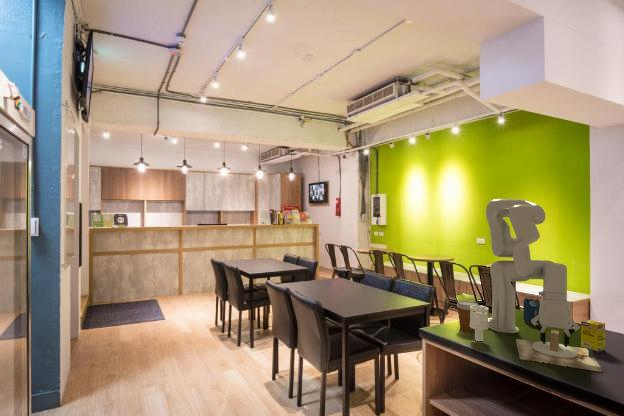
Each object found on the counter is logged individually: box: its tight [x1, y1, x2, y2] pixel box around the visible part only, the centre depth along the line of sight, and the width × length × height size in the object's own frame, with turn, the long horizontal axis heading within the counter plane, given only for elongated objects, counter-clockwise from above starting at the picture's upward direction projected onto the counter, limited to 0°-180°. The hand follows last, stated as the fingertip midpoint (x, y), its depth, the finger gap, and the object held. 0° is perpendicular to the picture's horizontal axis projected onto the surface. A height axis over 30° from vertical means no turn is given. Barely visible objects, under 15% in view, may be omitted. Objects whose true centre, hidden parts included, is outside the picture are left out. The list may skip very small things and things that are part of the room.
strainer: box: [470, 304, 489, 342], centre depth 157 cm, size 7×7×15 cm
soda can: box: [522, 296, 540, 325], centre depth 186 cm, size 7×7×12 cm
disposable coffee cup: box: [456, 300, 479, 332], centre depth 173 cm, size 10×10×12 cm
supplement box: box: [580, 319, 606, 354], centre depth 149 cm, size 6×6×11 cm
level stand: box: [515, 338, 602, 372], centre depth 141 cm, size 24×20×4 cm
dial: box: [533, 329, 582, 358], centre depth 141 cm, size 14×16×7 cm
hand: (554, 343), depth 141 cm, fingers open, 6 cm apart
